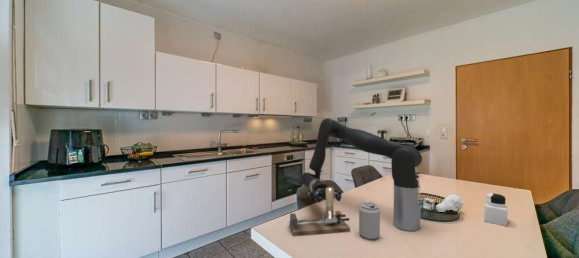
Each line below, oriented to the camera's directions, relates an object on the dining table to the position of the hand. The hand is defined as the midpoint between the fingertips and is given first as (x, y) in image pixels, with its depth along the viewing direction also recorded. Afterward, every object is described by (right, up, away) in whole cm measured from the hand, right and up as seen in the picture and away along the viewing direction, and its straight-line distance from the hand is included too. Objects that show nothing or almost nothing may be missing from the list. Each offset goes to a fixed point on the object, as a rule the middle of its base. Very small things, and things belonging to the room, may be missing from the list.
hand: (329, 199), depth 92 cm
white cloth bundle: (+60, -11, +15) cm, 63 cm away
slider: (+2, -9, 0) cm, 9 cm away
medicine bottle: (+74, -12, +5) cm, 75 cm away
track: (-5, -12, -1) cm, 12 cm away
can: (+14, -12, -7) cm, 20 cm away
